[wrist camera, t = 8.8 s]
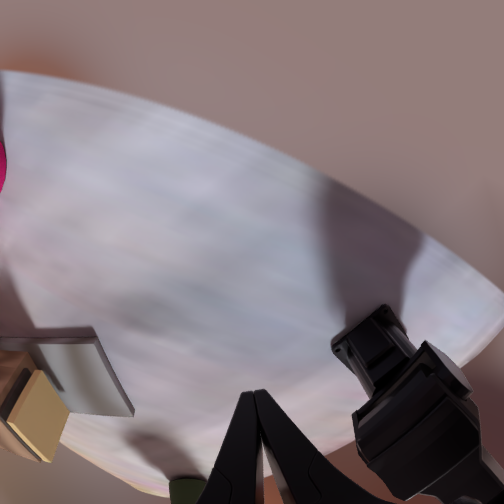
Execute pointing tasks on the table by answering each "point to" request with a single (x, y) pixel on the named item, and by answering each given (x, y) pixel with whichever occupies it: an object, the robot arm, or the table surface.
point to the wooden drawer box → (58, 380)
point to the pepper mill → (2, 166)
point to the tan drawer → (39, 416)
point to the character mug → (185, 491)
